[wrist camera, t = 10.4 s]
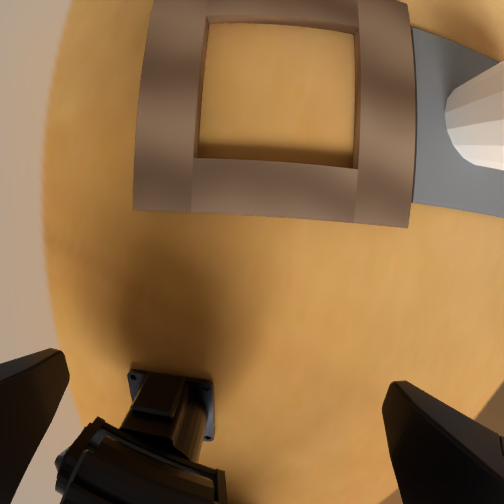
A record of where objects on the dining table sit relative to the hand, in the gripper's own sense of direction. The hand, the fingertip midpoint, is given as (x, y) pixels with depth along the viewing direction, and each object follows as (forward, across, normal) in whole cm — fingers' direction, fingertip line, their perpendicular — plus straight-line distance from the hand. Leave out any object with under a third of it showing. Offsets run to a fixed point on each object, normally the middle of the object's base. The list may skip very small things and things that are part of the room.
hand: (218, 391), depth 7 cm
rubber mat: (+12, -15, -11) cm, 22 cm away
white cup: (+12, -15, -11) cm, 22 cm away
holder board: (+12, -1, -10) cm, 16 cm away
